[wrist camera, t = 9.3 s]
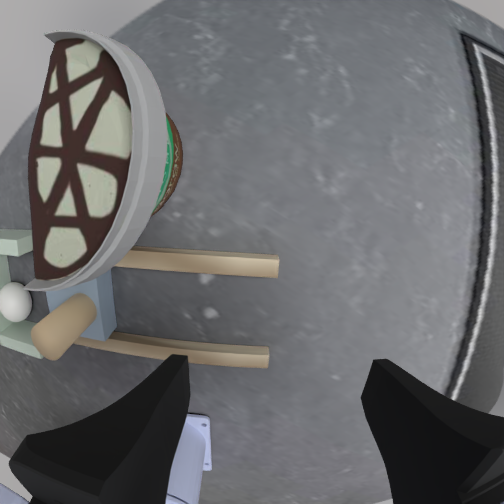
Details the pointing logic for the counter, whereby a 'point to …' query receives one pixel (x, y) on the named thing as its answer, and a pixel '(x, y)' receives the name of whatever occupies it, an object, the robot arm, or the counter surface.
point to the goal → (14, 245)
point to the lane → (197, 264)
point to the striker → (76, 316)
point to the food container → (96, 159)
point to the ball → (15, 302)
